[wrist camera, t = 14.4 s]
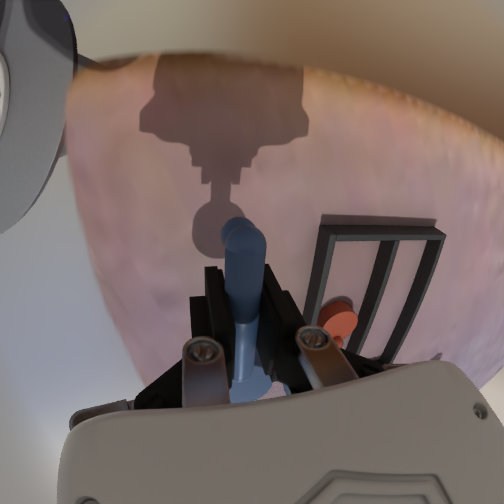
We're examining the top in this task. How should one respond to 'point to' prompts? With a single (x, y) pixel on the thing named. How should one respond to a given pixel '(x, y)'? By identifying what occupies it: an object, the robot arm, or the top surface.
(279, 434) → the robot arm
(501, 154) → the top surface
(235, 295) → the blue spoon
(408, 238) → the sorting tray
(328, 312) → the terracotta spoon
